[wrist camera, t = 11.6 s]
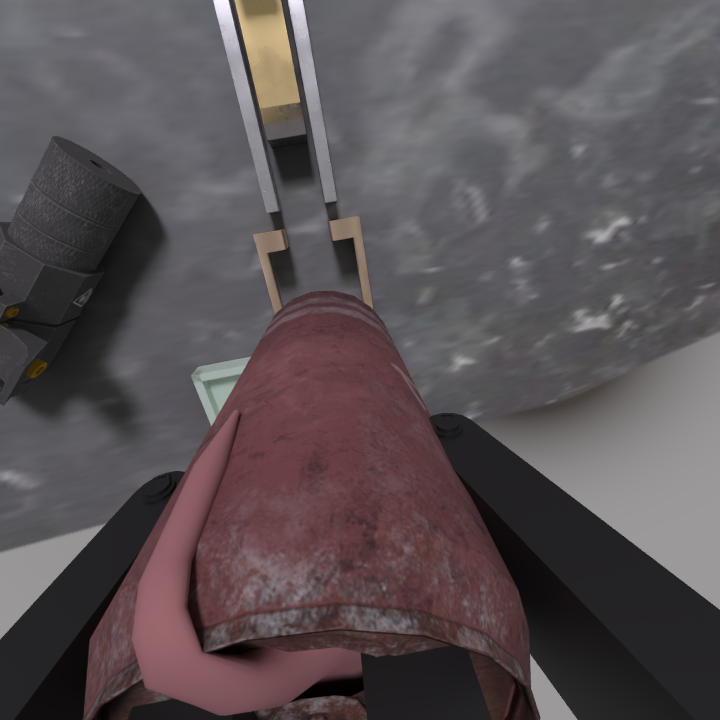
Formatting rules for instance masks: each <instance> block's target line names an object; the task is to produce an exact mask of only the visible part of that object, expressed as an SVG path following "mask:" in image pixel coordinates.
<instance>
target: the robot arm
mask: <svg viewBox="0 0 720 720" xmlns="http://www.w3.org/2000/svg"><path fill="white" fill-rule="evenodd" d="M429 420H430V422H431V424H432V426H433V430H434V432H435V433H436V435H437V437H438V439H439V441H440V443H441V445H442V447H443V449H444V451H445V453H446V455H447V457H448V459H449V461H450V463H451V465H452V467H453V469H454V471H455V472H456V474H457V475H458V477H459V479H460V480H461V482H462V484H463V485H464V487H465V488H466V490H467V492H468V493H469V495H470V496H471V498H472V500H473V502H474V504H475V506H476V508H477V510H478V512H479V514H480V516H481V518H482V520H483V522H484V524H485V525H486V527H487V529H488V531H489V533H490V535H491V537H492V539H493V541H494V543H495V545H496V547H497V549H498V551H499V553H500V555H501V557H502V559H503V561H504V563H505V565H506V567H507V569H508V571H509V573H510V575H511V577H512V579H513V581H514V583H515V585H516V587H517V589H518V592H519V595H520V599H521V602H522V606H523V609H524V613H525V616H526V620H527V623H528V627H529V644H530V654H531V656H532V657H533V658H534V660H535V661H536V662H537V664H538V665H539V667H540V668H541V669H542V671H543V672H544V674H545V675H546V676H547V678H548V679H549V681H550V682H551V683H552V685H553V686H554V688H555V689H556V690H557V692H558V693H559V694H560V696H561V697H562V699H563V700H564V701H565V703H566V704H567V706H568V707H569V708H570V710H571V711H572V713H573V714H574V715H575V716H576V718H577V719H578V720H720V610H719V609H718V608H717V607H715V606H714V605H713V604H711V603H710V602H709V601H708V600H706V599H705V598H704V597H702V596H701V595H700V594H698V593H697V592H696V591H694V590H693V589H692V588H691V587H689V586H688V585H687V584H685V583H684V582H683V581H681V580H680V579H679V578H677V577H676V576H675V575H674V574H672V573H671V572H669V571H668V570H667V569H666V568H664V567H663V566H662V565H660V564H659V563H658V562H656V561H655V560H654V559H653V558H651V557H650V556H649V555H647V554H646V553H645V552H643V551H642V550H641V549H639V548H638V547H637V546H635V545H634V544H633V543H632V542H630V541H629V540H628V539H626V538H625V537H624V536H622V535H621V534H620V533H618V532H617V531H616V530H615V529H613V528H612V527H611V526H609V525H608V524H607V523H605V522H604V521H603V520H601V519H600V518H599V517H598V516H596V515H595V514H594V513H592V512H591V511H590V510H588V509H587V508H586V507H584V506H583V505H582V504H580V503H579V502H578V501H577V500H575V499H574V498H573V497H571V496H570V495H569V494H567V493H566V492H565V491H563V490H562V489H561V488H560V487H558V486H557V485H556V484H554V483H553V482H552V481H550V480H549V479H548V478H546V477H545V476H544V475H543V474H541V473H540V472H539V471H537V470H536V469H535V468H533V467H532V466H531V465H529V464H528V463H527V462H525V461H524V460H523V459H522V458H520V457H519V456H518V455H516V454H515V453H514V452H512V451H511V450H509V449H508V448H507V447H506V446H505V445H503V444H502V443H501V442H499V441H498V440H496V439H495V438H494V437H493V436H491V435H490V434H489V433H488V432H486V431H485V430H484V429H482V428H481V427H480V426H478V425H477V424H476V423H474V422H473V421H472V420H470V419H469V418H467V417H465V416H463V415H459V414H454V413H441V414H437V415H433V416H431V417H429ZM184 474H185V472H182V471H174V472H169V473H165V474H162V475H159V476H157V477H155V478H153V479H152V480H150V481H149V482H147V483H146V484H144V485H143V486H142V487H141V488H140V489H138V490H137V491H136V492H135V493H134V494H133V495H132V496H131V497H130V499H129V500H128V501H127V502H126V503H125V504H124V505H123V506H122V507H121V508H120V509H119V511H118V512H117V513H116V514H115V515H114V516H113V517H112V518H111V519H110V520H109V521H108V523H107V524H106V525H105V526H104V527H103V528H102V529H101V530H100V531H99V533H97V535H96V536H95V537H94V538H93V539H92V540H91V541H90V542H89V543H88V544H87V546H86V547H85V548H84V549H83V550H82V551H81V552H80V553H79V554H78V555H77V557H75V559H74V560H73V561H72V562H71V563H70V564H69V565H68V566H67V567H66V568H65V569H64V571H63V572H62V573H61V574H60V575H59V576H58V577H57V578H56V579H55V580H54V581H53V583H52V584H51V585H50V586H49V587H48V588H47V589H46V590H45V591H44V592H43V593H42V595H41V596H40V597H39V598H38V599H37V600H36V601H35V602H34V603H33V605H31V607H30V608H29V609H28V610H27V611H26V612H25V613H24V614H23V615H22V616H21V617H20V619H19V620H18V621H17V622H16V623H15V624H14V625H13V626H12V628H10V629H9V631H8V632H7V633H6V634H5V635H4V636H3V637H2V638H1V640H0V720H83V717H84V705H85V693H86V680H87V668H88V655H89V643H90V638H91V637H92V635H93V633H94V631H95V630H96V628H97V626H98V624H99V622H100V621H101V619H102V617H103V615H104V614H105V612H106V610H107V608H108V607H109V605H110V603H111V601H112V600H113V598H114V596H115V594H116V593H117V591H118V589H119V587H120V586H121V584H122V582H123V580H124V579H125V577H126V575H127V573H128V572H129V570H130V568H131V566H132V565H133V563H134V561H135V559H136V558H137V556H138V554H139V552H140V551H141V549H142V547H143V545H144V544H145V542H146V540H147V538H148V537H149V535H150V533H151V531H152V530H153V528H154V526H155V524H156V523H157V521H158V519H159V517H160V516H161V514H162V512H163V510H164V509H165V507H166V505H167V503H168V502H169V500H170V498H171V496H172V495H173V493H174V491H175V489H176V488H177V486H178V484H179V482H180V481H181V479H182V477H183V475H184ZM361 663H362V673H363V683H364V693H365V703H366V713H367V720H492V718H491V716H490V713H489V710H488V707H487V704H486V701H485V698H484V695H483V693H482V690H481V687H480V684H479V681H478V678H477V675H476V672H475V670H474V667H473V664H472V661H471V658H470V655H469V652H468V651H467V650H464V649H461V648H458V647H455V646H452V645H450V646H445V647H439V648H434V649H429V650H424V651H419V652H413V653H408V654H403V655H398V656H394V655H384V656H379V657H375V656H373V655H369V654H364V653H361ZM128 720H259V719H258V717H257V716H256V714H255V712H254V711H251V712H245V713H239V714H232V715H226V716H224V715H216V714H214V713H212V712H209V711H207V710H204V709H202V708H199V707H197V706H194V705H191V704H189V703H186V702H183V701H180V700H177V699H170V700H165V701H160V702H155V703H149V704H144V705H139V706H134V707H132V709H131V712H130V714H129V717H128Z"/></svg>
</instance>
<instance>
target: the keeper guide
mask: <svg viewBox="0 0 720 720" xmlns="http://www.w3.org/2000/svg"><path fill="white" fill-rule="evenodd" d="M213 1H214V5H215V9H216V13H217V17H218V21H219V25H220V29H221V33H222V37H223V41H224V45H225V49H226V53H227V57H228V61H229V65H230V69H231V73H232V77H233V80H234V84H235V88H236V92H237V96H238V100H239V104H240V108H241V112H242V116H243V120H244V124H245V128H246V132H247V136H248V140H249V144H250V148H251V152H252V156H253V160H254V164H255V168H256V172H257V176H258V180H259V184H260V188H261V192H262V196H263V200H264V204H265V208H266V212H267V213H274V212H280V211H281V209H280V205H279V201H278V197H277V192H276V188H275V184H274V180H273V175H272V171H271V167H270V163H269V158H268V154H267V150H266V146H265V141H264V137H263V133H262V129H261V124H260V120H259V116H258V112H257V107H256V103H255V99H254V95H253V90H252V86H251V82H250V78H249V73H248V69H247V65H246V61H245V56H244V52H243V48H242V44H241V39H240V35H239V31H238V27H237V22H236V18H235V14H234V10H233V5H232V1H231V0H213ZM287 2H288V7H289V13H290V18H291V23H292V29H293V34H294V39H295V45H296V50H297V56H298V61H299V66H300V72H301V77H302V83H303V88H304V93H305V99H306V104H307V110H308V115H309V120H310V126H311V131H312V137H313V142H314V147H315V153H316V158H317V164H318V169H319V174H320V180H321V185H322V191H323V196H324V201H325V203H331V202H336V201H337V198H336V192H335V186H334V180H333V174H332V169H331V163H330V157H329V151H328V145H327V139H326V134H325V128H324V122H323V116H322V110H321V104H320V99H319V93H318V87H317V81H316V75H315V69H314V64H313V58H312V52H311V46H310V40H309V35H308V29H307V23H306V17H305V11H304V5H303V0H287Z"/></svg>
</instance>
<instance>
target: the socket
mask: <svg viewBox="0 0 720 720" xmlns="http://www.w3.org/2000/svg"><path fill="white" fill-rule="evenodd" d="M328 223H329V228H330V234H331V239H332V240H333V241H336V240H341V239H347V238H352V237H353V242H354V248H355V255H356V261H357V267H358V273H359V279H360V286H361V292H362V298H363V302H364V303H366V304H367V305H369V306H370V307H371V308H372V309H373V306H372V299H371V292H370V286H369V279H368V272H367V266H366V259H365V252H364V246H363V239H362V232H361V226H360V219H359V216H355V217H350V218H344V219H338V220H333V221H328ZM253 236H254V240H255V243H256V247H257V251H258V254H259V258H260V262H261V265H262V269H263V273H264V276H265V280H266V284H267V287H268V291H269V294H270V298H271V302H272V305H273V309H274V313H275V314H276V313H277V312H278V311H279V310H280V309H282V308H283V306H282V302H281V298H280V294H279V291H278V287H277V283H276V279H275V275H274V271H273V268H272V264H271V260H270V256H269V252H275V251H280V250H285V249H287V248H288V247H289V243H288V239H287V235H286V230H285V229H282V230H277V231H271V232H265V233H260V234H254V235H253Z"/></svg>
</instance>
